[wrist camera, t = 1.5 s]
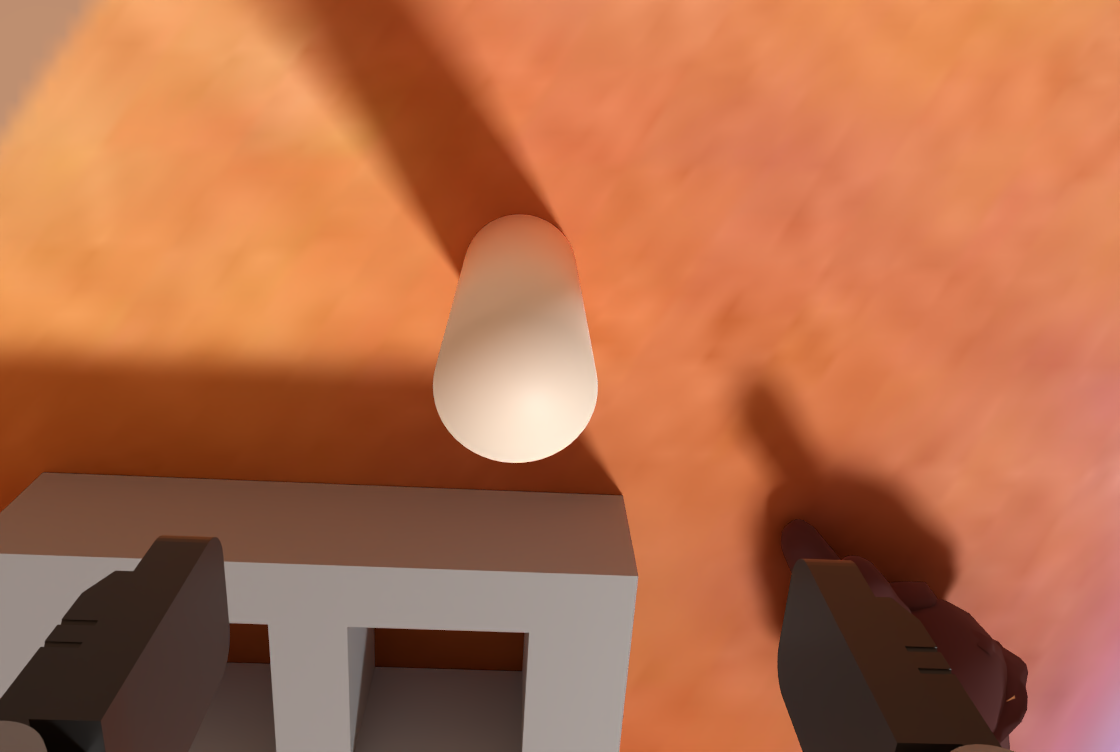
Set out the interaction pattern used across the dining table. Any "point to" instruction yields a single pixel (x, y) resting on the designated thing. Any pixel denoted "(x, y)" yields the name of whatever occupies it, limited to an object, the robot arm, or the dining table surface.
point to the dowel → (516, 345)
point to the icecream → (939, 635)
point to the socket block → (357, 604)
